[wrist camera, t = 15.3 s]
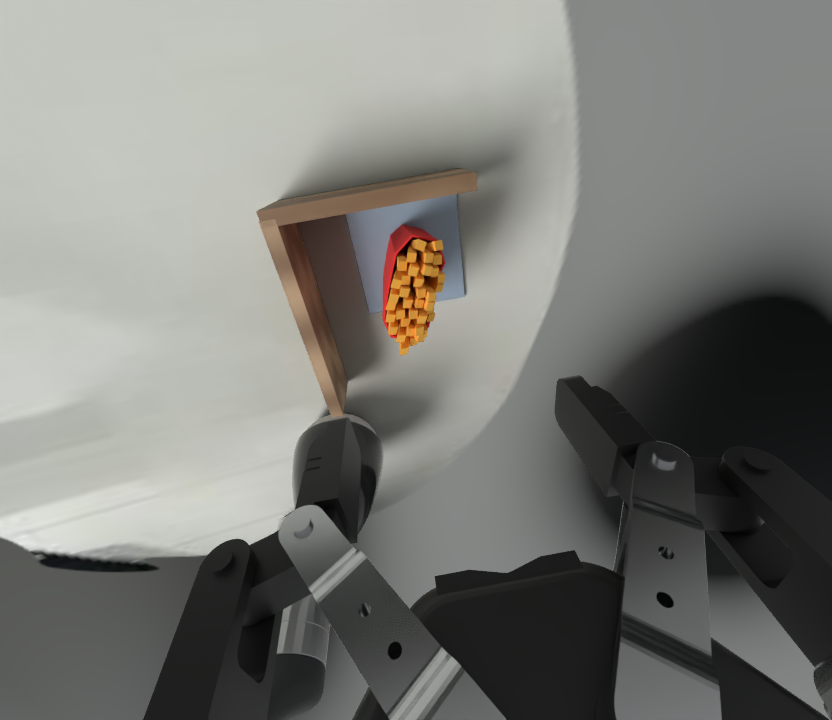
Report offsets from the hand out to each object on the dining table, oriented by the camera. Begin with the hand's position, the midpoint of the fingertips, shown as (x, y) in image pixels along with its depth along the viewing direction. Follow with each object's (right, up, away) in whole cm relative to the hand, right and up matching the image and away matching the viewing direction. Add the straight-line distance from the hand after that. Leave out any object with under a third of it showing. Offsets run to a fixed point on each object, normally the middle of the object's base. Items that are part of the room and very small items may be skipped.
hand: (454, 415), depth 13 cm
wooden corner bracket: (-4, +9, +22) cm, 24 cm away
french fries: (-3, +12, +20) cm, 23 cm away
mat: (-2, +12, +20) cm, 24 cm away
